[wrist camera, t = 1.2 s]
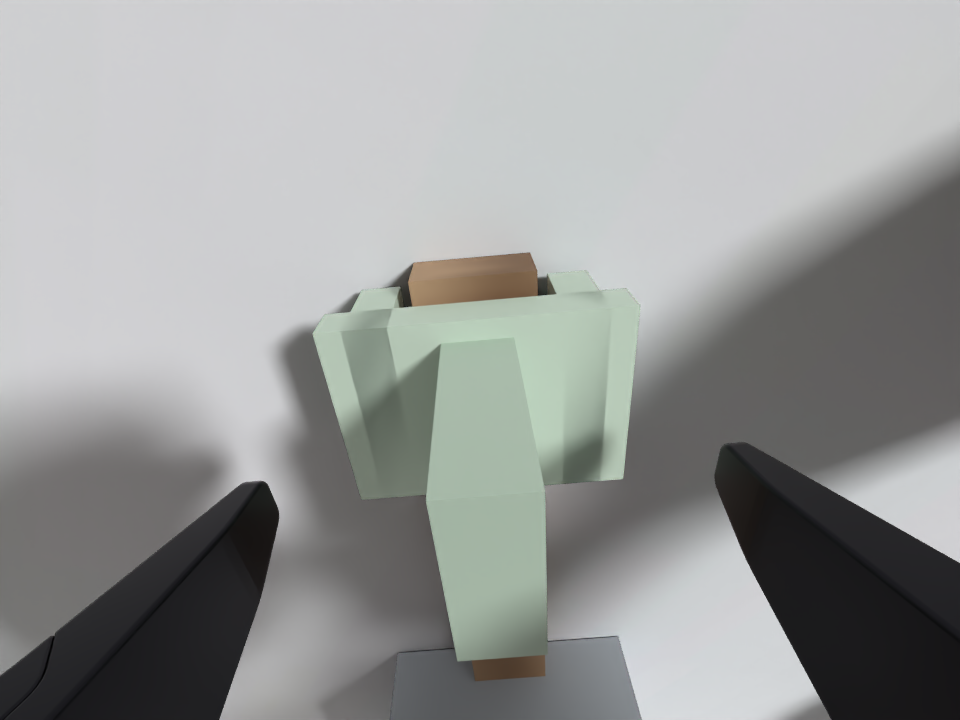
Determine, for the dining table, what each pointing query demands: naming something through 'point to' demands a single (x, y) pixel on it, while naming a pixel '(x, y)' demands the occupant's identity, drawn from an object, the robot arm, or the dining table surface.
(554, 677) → the housing
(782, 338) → the dining table surface
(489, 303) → the carriage
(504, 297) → the rail
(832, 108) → the dining table surface
